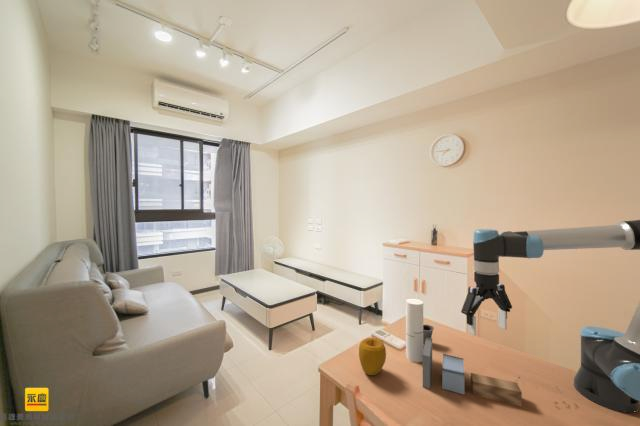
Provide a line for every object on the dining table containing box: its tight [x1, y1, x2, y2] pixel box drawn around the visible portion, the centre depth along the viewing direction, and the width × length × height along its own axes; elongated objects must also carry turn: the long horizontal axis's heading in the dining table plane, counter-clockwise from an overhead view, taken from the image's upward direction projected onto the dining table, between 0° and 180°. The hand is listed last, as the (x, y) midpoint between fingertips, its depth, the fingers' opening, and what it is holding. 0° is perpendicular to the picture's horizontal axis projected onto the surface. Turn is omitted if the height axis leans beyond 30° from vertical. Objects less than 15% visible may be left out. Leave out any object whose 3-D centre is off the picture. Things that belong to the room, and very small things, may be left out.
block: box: [441, 353, 465, 395], centre depth 94 cm, size 7×10×8 cm
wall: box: [422, 337, 433, 390], centre depth 98 cm, size 2×14×12 cm, turn 152°
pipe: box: [423, 324, 435, 346], centre depth 122 cm, size 6×13×8 cm, turn 107°
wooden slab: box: [470, 372, 523, 407], centre depth 88 cm, size 14×5×5 cm, turn 68°
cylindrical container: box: [405, 298, 424, 363], centre depth 111 cm, size 7×7×25 cm
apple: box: [358, 337, 387, 376], centre depth 102 cm, size 11×11×13 cm
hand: (487, 330), depth 91 cm, fingers open, 13 cm apart
